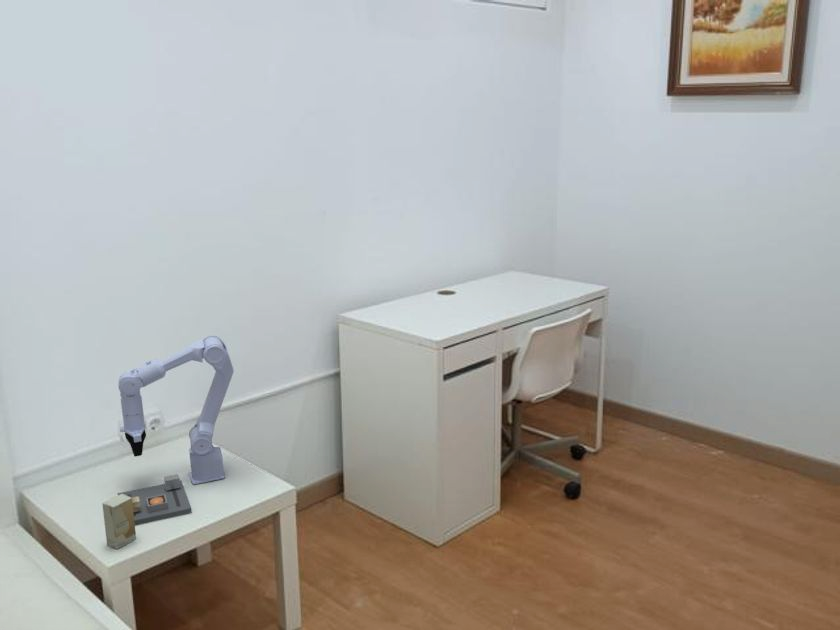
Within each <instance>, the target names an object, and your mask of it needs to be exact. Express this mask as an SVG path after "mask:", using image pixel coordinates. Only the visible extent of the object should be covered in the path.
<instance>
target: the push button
mask: <svg viewBox="0 0 840 630" xmlns="http://www.w3.org/2000/svg"><path fill="white" fill-rule="evenodd" d="M159 503H164V500H163V498H161V497H156V498H153V499H151V500H150V505H155V504H159Z"/></svg>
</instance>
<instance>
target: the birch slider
mask: <svg viewBox="0 0 840 630" xmlns="http://www.w3.org/2000/svg"><path fill="white" fill-rule="evenodd" d="M132 504H133V513H134V512H138V511H141V508H140V500H139V496H138V497H133V498H132Z"/></svg>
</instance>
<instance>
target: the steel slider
mask: <svg viewBox="0 0 840 630" xmlns="http://www.w3.org/2000/svg"><path fill="white" fill-rule="evenodd" d="M180 479H181V478H180V475H179V474H178V473H177V474H176V473H175V474H171V475H166V476H163V480H164V481H163V482H164V484H165V488H166V490H171V489H176V488H181V487H180Z"/></svg>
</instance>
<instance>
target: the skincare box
mask: <svg viewBox="0 0 840 630" xmlns="http://www.w3.org/2000/svg"><path fill="white" fill-rule="evenodd" d="M102 512H103V519H104V521H103V522H104V529H105V539H106V545H107V546H109V547H111V548H113V549H116V550H118V549H120V548H122V547H124V546H125V545H128V544H129V543H131V542H134V541H135V540H136V539H137V534H136V525H135V523H134V513H133V504H132V498H131V497H129V496H127V495H124V494H120V495H118V494H117V495H116V496H114V497H112V498H110V499H108V500H106V501H104V502H102Z"/></svg>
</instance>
